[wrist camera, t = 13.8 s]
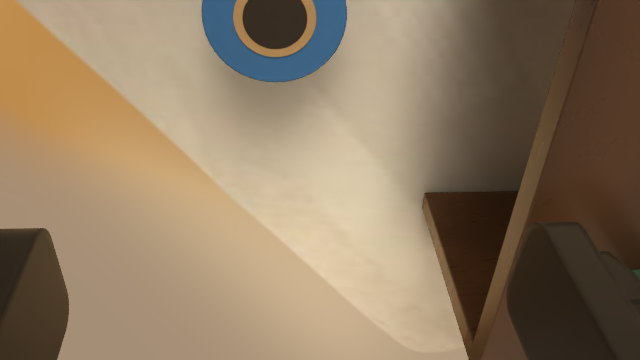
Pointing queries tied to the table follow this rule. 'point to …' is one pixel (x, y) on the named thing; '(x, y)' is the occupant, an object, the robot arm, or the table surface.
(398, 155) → the table surface
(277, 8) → the tape roll
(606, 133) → the shelf
